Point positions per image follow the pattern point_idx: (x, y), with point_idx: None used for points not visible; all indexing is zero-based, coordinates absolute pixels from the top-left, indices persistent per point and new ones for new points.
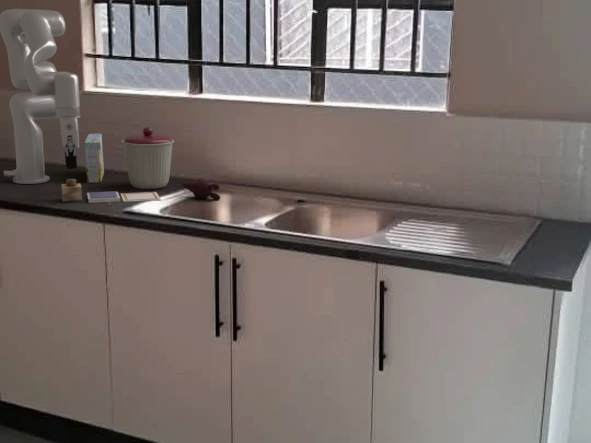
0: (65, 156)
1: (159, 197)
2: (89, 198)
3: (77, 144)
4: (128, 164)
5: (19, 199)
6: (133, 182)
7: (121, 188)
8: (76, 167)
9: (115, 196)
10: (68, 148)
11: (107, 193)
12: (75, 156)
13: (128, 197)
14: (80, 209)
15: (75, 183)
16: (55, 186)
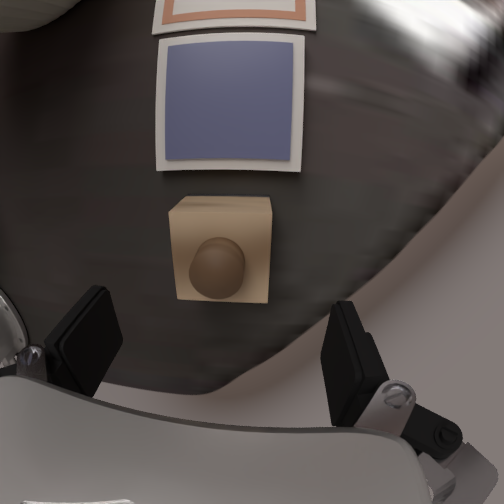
0: (100, 378)
1: None
2: (283, 166)
3: (422, 483)
4: (9, 3)
5: (186, 373)
6: (68, 2)
7: (57, 52)
8: (352, 304)
9: (288, 50)
10: (425, 473)
11: (208, 77)
12: (378, 376)
13: (244, 4)
14: (396, 215)
15: (231, 246)
16: (25, 271)
